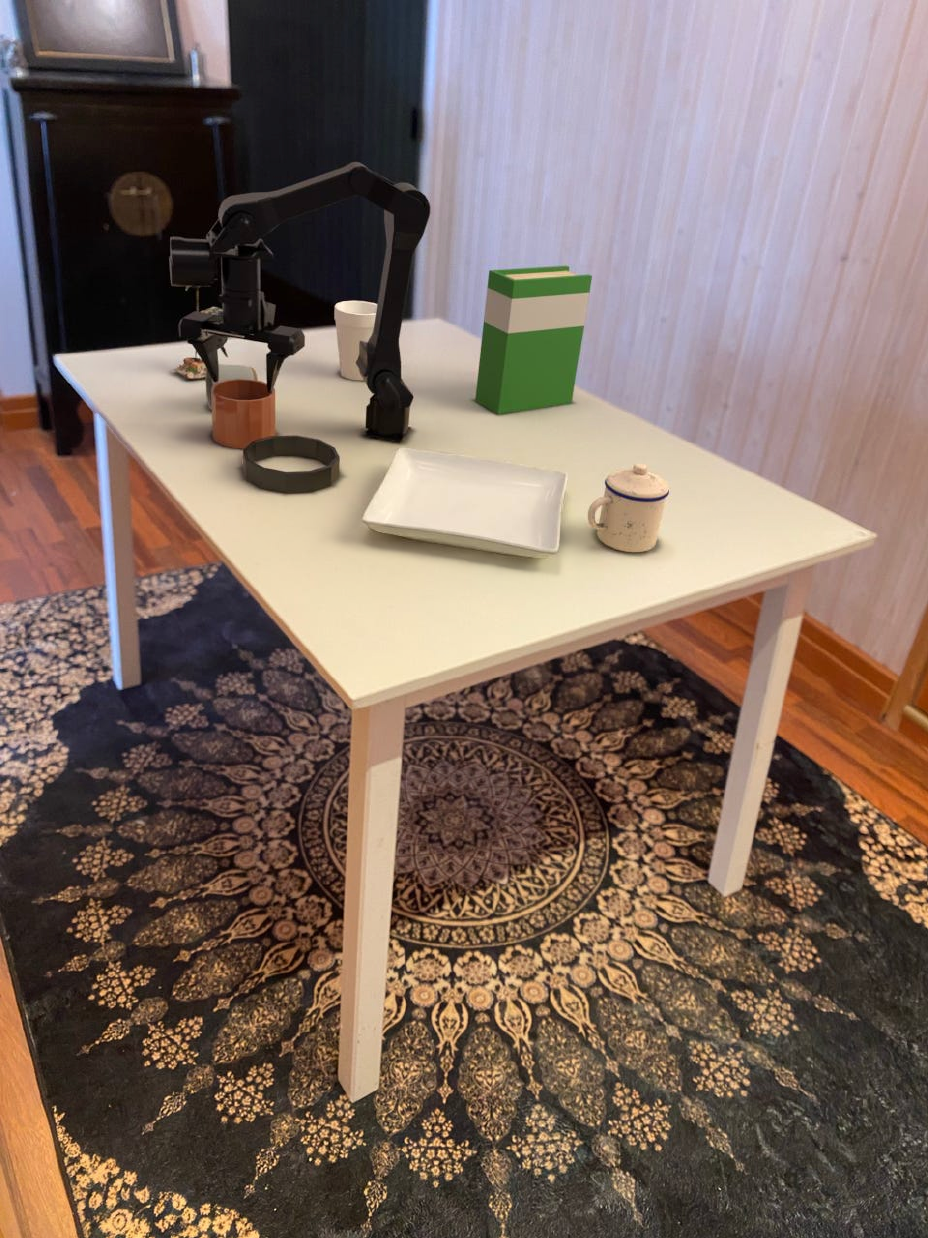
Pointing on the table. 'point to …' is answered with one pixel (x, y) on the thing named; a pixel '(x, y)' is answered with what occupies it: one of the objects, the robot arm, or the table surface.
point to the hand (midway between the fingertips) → (243, 386)
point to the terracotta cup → (242, 412)
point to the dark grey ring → (290, 480)
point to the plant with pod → (196, 365)
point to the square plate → (470, 503)
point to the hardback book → (531, 338)
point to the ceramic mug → (229, 376)
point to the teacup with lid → (630, 509)
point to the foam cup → (353, 333)
